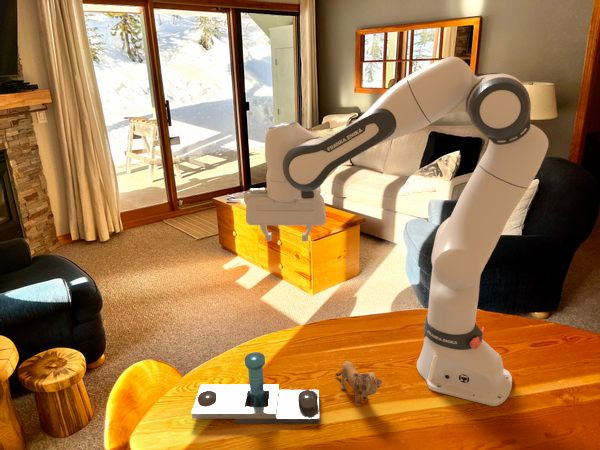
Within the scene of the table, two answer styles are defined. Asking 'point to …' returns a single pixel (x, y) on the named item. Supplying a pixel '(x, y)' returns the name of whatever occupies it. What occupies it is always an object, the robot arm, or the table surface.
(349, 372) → the lion figurine
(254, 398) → the pin
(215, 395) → the latch plate
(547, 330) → the table surface
